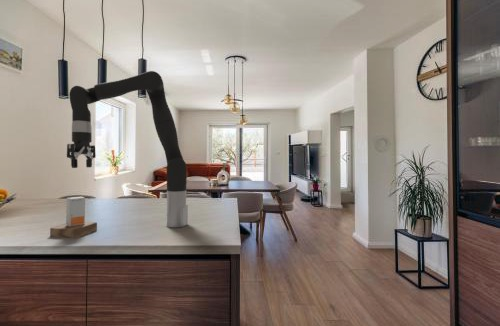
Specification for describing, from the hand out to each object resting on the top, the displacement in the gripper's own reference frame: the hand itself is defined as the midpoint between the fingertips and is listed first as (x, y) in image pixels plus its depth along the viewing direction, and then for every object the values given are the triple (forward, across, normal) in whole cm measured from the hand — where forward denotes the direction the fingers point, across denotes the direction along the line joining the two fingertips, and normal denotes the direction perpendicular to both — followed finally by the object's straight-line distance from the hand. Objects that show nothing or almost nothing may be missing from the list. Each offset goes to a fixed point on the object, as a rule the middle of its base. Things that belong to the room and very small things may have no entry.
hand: (82, 167), depth 119 cm
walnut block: (+29, -5, 0) cm, 29 cm away
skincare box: (+25, -4, 0) cm, 26 cm away
